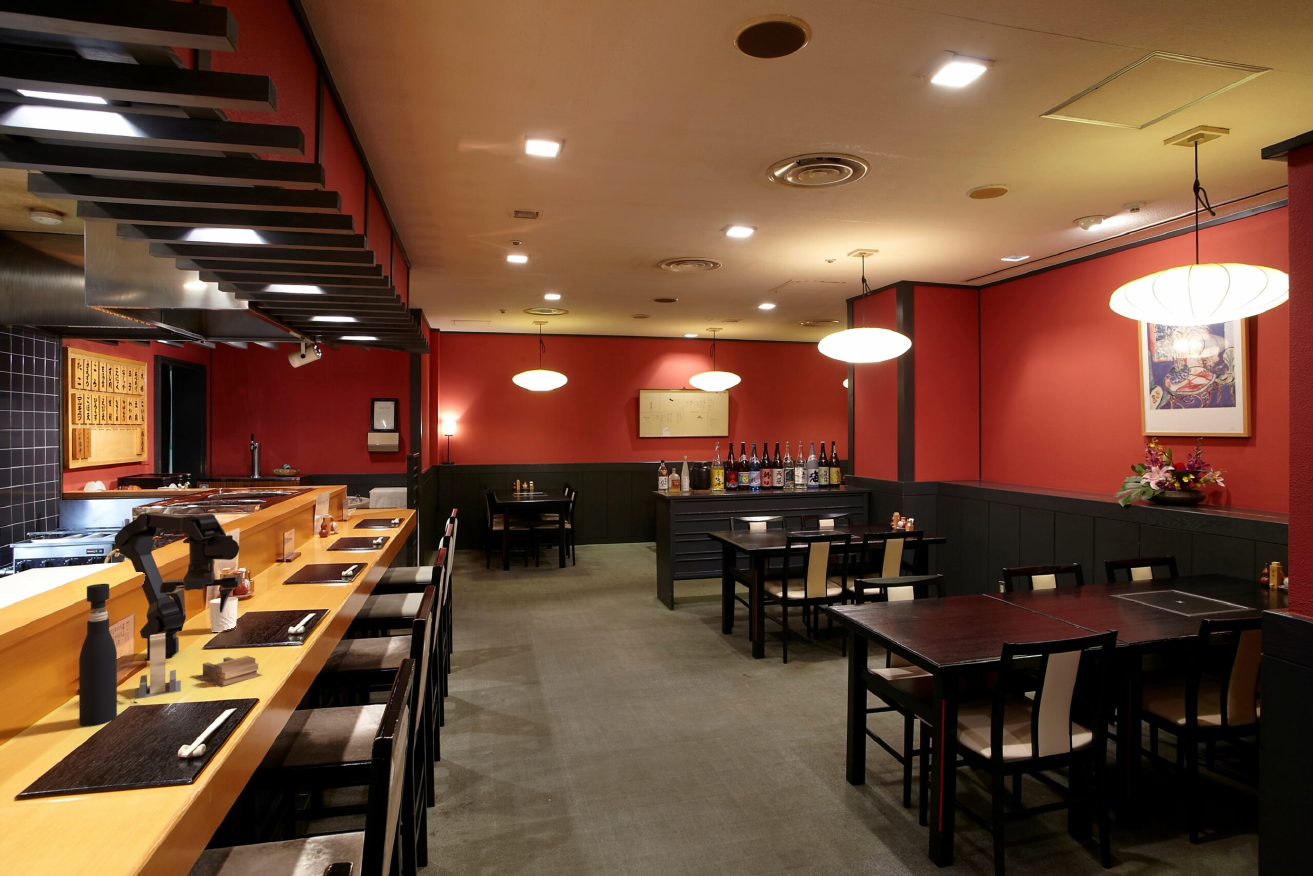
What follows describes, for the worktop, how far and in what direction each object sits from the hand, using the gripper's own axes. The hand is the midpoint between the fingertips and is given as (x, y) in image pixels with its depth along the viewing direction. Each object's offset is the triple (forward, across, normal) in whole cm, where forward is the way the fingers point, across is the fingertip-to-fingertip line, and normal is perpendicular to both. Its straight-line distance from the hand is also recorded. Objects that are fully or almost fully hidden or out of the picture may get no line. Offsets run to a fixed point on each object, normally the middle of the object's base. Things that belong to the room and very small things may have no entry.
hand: (202, 614), depth 189 cm
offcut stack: (+12, +14, -24) cm, 30 cm away
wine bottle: (+13, -10, -40) cm, 43 cm away
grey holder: (+13, -3, -26) cm, 29 cm away
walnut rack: (+13, +11, -21) cm, 27 cm away
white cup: (+13, -2, +32) cm, 35 cm away
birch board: (+12, -3, -26) cm, 29 cm away
